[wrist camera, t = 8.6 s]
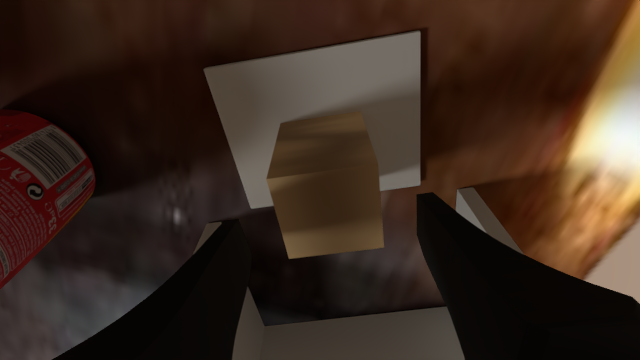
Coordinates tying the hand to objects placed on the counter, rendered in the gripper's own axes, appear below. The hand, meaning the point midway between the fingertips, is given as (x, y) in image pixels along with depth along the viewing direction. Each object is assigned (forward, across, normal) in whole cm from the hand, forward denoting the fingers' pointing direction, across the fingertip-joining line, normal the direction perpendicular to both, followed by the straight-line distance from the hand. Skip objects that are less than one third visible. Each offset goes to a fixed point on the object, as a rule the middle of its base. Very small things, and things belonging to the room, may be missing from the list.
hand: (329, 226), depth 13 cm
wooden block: (+7, 0, 0) cm, 7 cm away
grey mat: (+7, 0, -1) cm, 7 cm away
